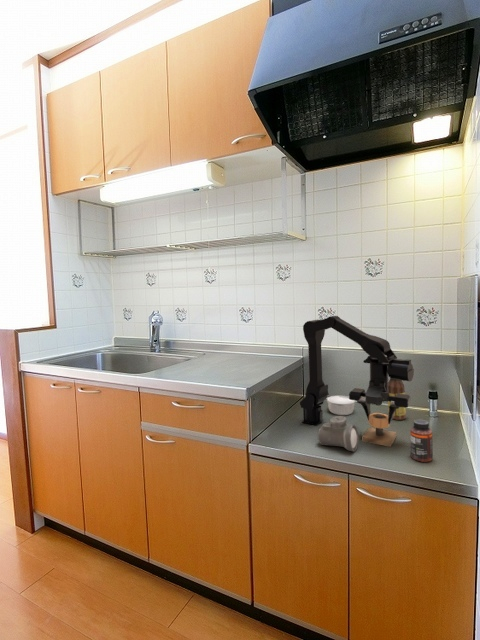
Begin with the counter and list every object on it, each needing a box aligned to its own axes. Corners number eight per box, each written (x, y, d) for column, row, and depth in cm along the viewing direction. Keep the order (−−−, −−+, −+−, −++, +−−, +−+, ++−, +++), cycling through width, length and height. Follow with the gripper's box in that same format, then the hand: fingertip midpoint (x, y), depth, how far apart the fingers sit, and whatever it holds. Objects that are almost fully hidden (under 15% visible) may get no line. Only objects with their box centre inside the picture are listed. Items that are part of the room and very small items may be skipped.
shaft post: (362, 440, 122) (362, 417, 121) (369, 431, 130) (369, 409, 129) (390, 446, 117) (390, 422, 116) (396, 436, 124) (396, 414, 124)
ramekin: (358, 409, 153) (358, 397, 152) (351, 418, 143) (350, 405, 143) (332, 405, 159) (332, 394, 158) (323, 413, 149) (323, 401, 149)
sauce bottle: (406, 416, 142) (406, 366, 141) (404, 421, 137) (404, 370, 135) (389, 413, 146) (389, 365, 144) (386, 418, 141) (385, 368, 139)
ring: (367, 426, 122) (367, 417, 122) (372, 420, 127) (372, 411, 127) (386, 429, 119) (386, 420, 118) (390, 423, 124) (390, 414, 123)
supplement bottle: (429, 454, 111) (429, 418, 110) (435, 463, 105) (435, 425, 104) (408, 453, 112) (408, 417, 111) (413, 462, 107) (413, 425, 106)
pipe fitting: (361, 444, 119) (356, 414, 118) (353, 456, 112) (348, 424, 111) (326, 440, 126) (321, 412, 125) (317, 451, 119) (312, 422, 118)
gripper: (343, 379, 120) (344, 425, 121) (404, 386, 109) (404, 436, 111) (353, 372, 129) (354, 414, 131) (410, 377, 119) (410, 423, 120)
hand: (379, 421), depth 123 cm, fingers closed on ring, 6 cm apart
